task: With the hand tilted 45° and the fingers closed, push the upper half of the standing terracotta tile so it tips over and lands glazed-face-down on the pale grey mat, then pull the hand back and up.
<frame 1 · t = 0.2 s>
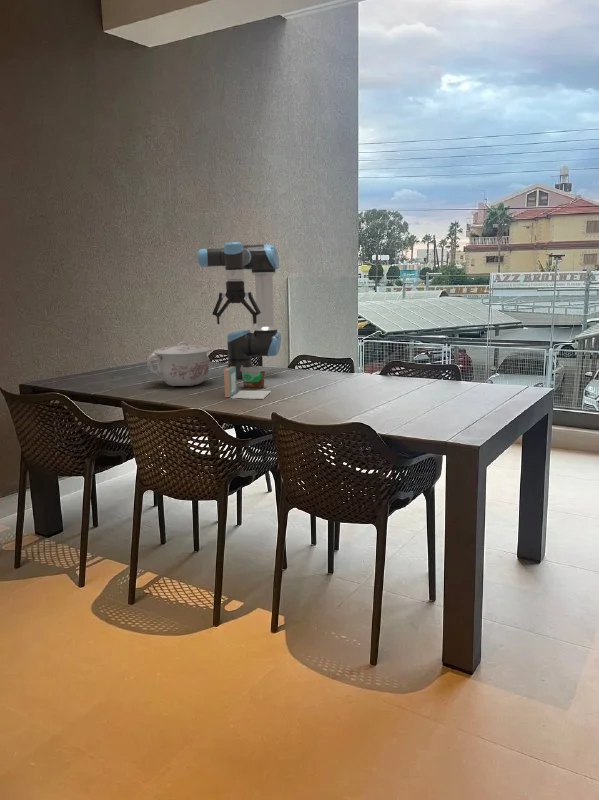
hand: (237, 331, 270), 28 cm above the table, tool pointing down, fingers open, 13 cm apart
tile: (231, 395, 279), on the table
mat: (251, 395, 277), on the table
chamber pot: (184, 385, 308), on the table
food container: (251, 388, 294), on the table
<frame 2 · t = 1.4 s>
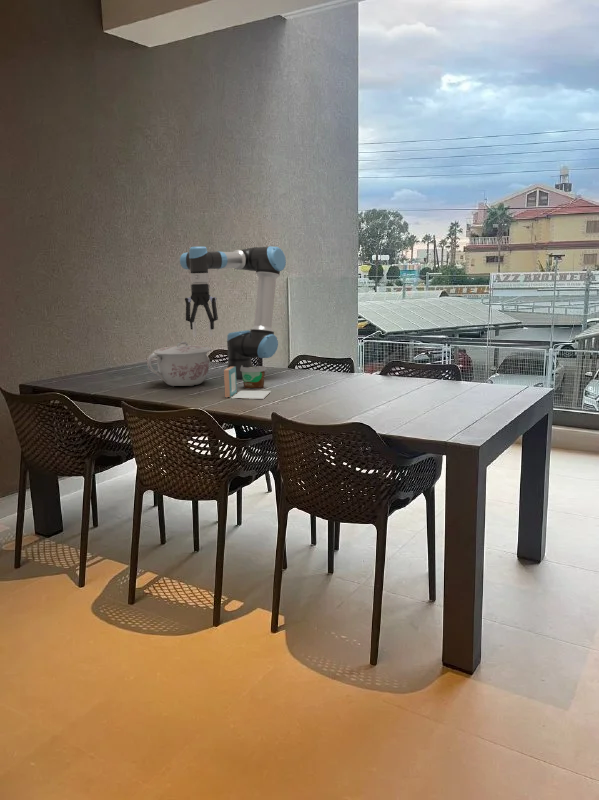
hand: (202, 337, 280), 25 cm above the table, tool pointing down, fingers open, 6 cm apart
nothing on the table moved.
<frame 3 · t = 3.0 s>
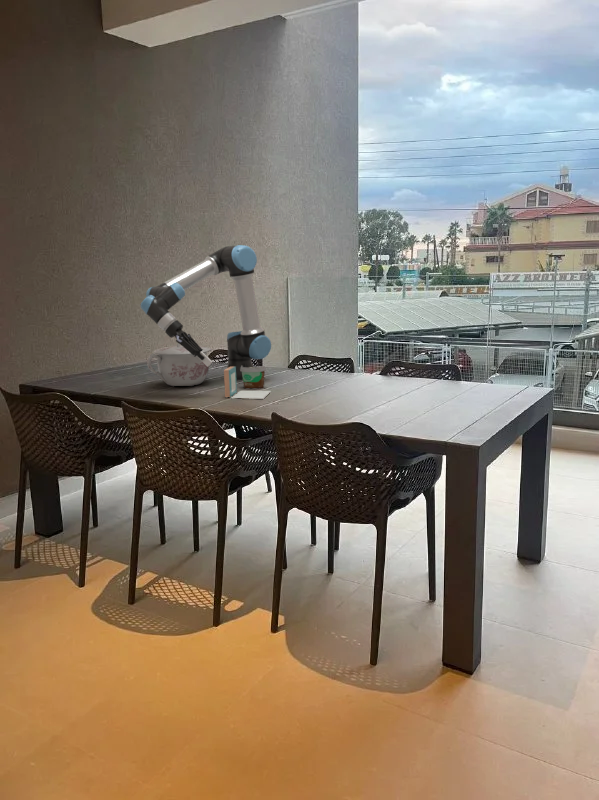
hand: (209, 364, 277), 14 cm above the table, tool tilted 45°, fingers closed
nothing on the table moved.
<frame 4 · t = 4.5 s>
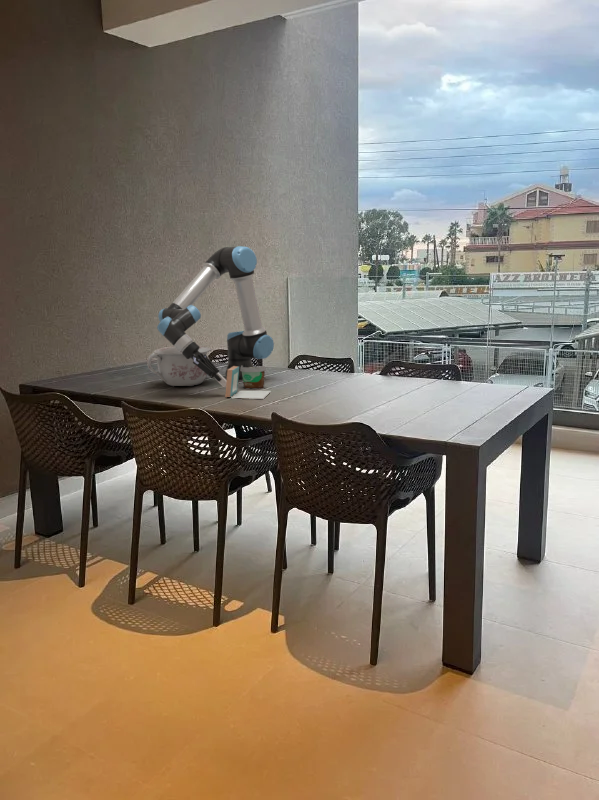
hand: (226, 385, 278), 4 cm above the table, tool tilted 45°, fingers closed
tile: (231, 395, 278), on the table, tilted 7°
everything else where it was.
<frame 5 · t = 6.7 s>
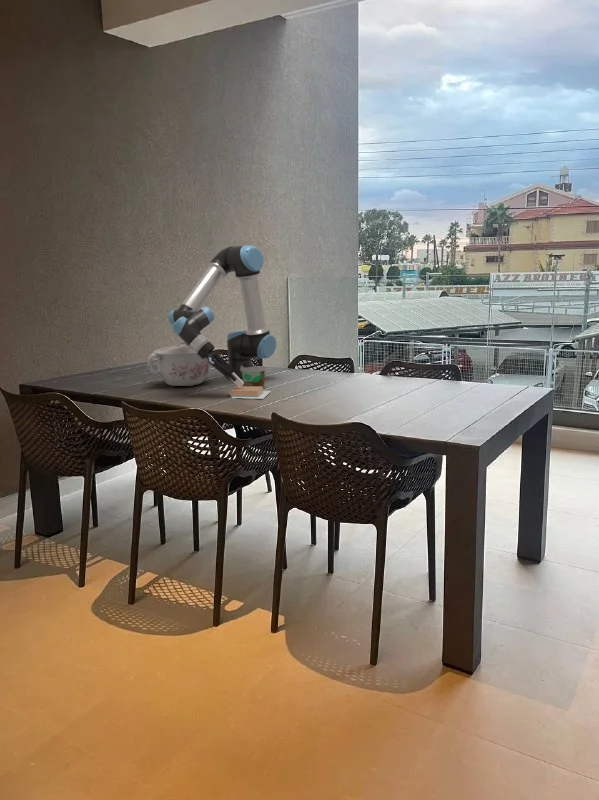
hand: (241, 385, 277), 5 cm above the table, tool tilted 45°, fingers closed
tile: (233, 391, 278), point 2 cm above the table, tilted 90°, touching mat
everything else where it was.
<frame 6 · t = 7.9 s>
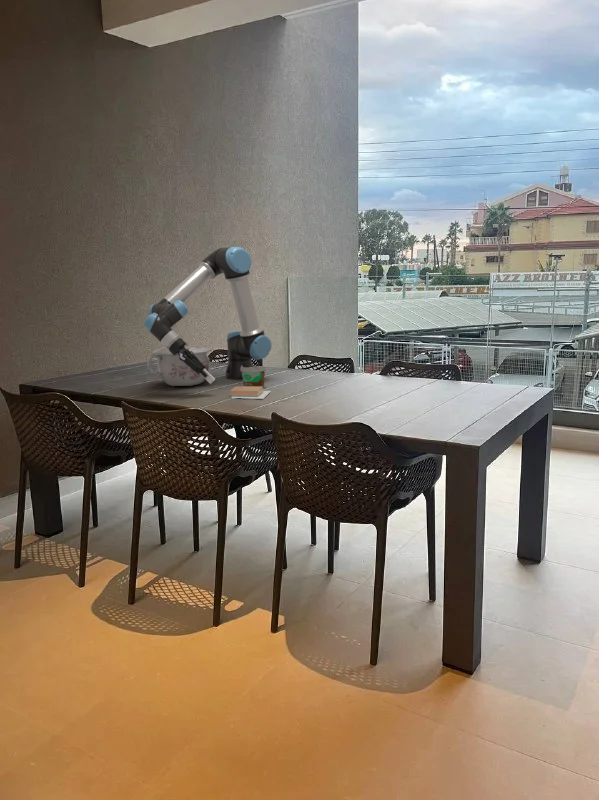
hand: (212, 381, 279), 6 cm above the table, tool tilted 45°, fingers closed
nothing on the table moved.
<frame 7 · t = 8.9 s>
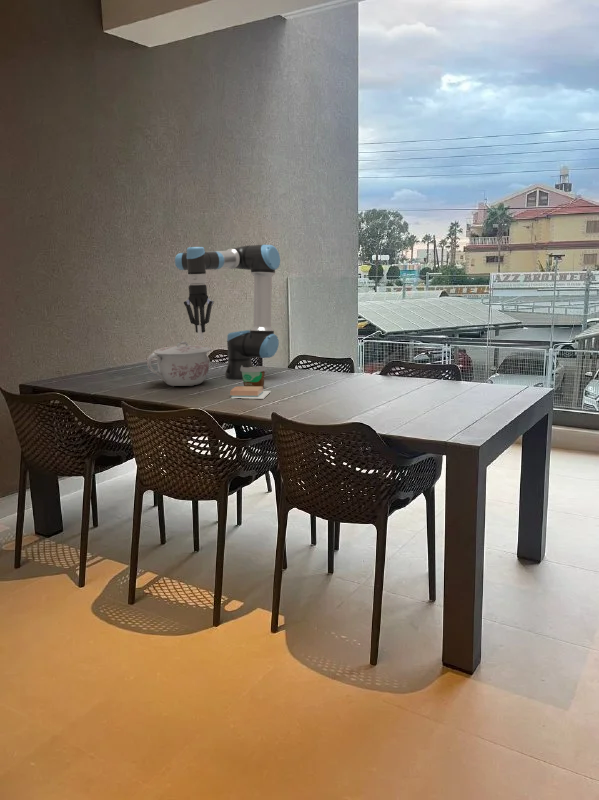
hand: (200, 340, 276), 24 cm above the table, tool pointing down, fingers closed
nothing on the table moved.
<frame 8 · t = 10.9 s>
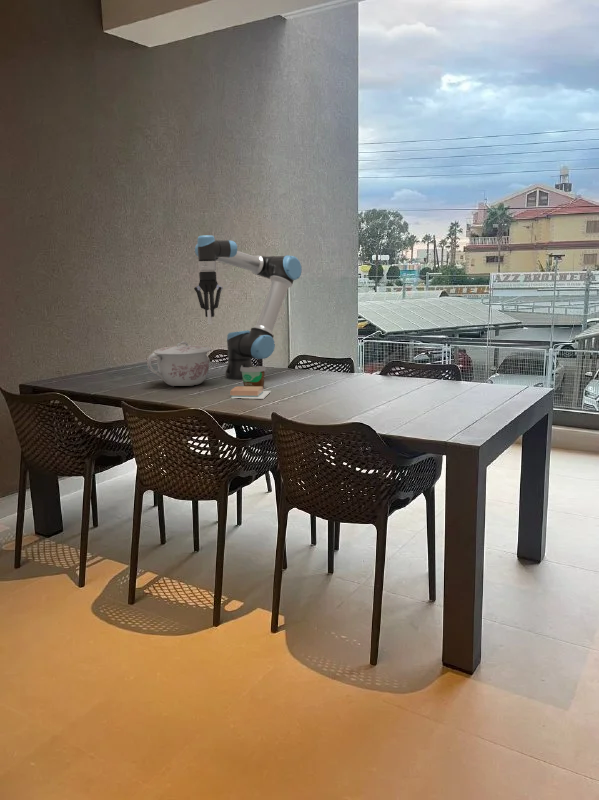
hand: (210, 324, 291), 29 cm above the table, tool pointing down, fingers closed
nothing on the table moved.
at the end: tile tilted 90°; tile inside the target area (6.9 cm from its centre), point 1.9 cm above the table; the gripper is holding nothing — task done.
